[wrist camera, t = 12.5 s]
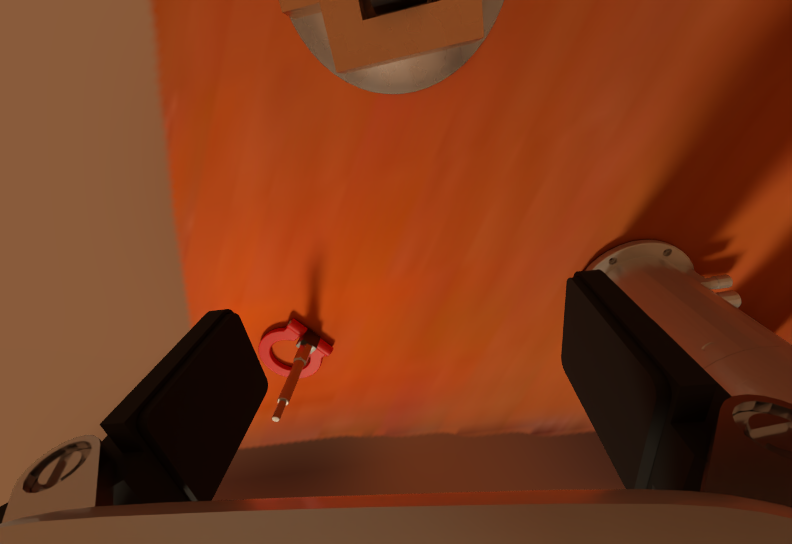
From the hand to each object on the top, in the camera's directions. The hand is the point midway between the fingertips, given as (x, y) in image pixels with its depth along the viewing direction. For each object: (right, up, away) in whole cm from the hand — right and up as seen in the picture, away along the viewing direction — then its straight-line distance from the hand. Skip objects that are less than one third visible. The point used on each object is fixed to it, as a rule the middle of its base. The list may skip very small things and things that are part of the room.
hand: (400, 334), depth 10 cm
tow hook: (-14, -8, +37) cm, 40 cm away
